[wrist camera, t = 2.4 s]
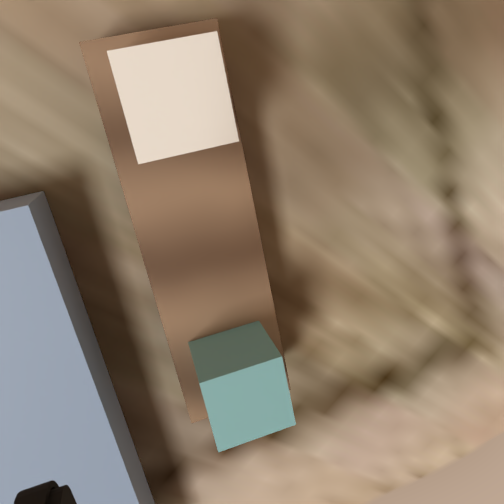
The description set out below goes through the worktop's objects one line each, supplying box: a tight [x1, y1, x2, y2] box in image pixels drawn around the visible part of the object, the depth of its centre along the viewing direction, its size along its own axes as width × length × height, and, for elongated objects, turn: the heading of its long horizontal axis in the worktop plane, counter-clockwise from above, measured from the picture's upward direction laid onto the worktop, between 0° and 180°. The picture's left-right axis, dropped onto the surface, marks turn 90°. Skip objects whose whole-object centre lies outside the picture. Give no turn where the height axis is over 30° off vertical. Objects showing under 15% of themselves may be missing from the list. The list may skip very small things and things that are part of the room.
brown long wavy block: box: [79, 18, 291, 423], centre depth 24 cm, size 20×6×4 cm, turn 11°
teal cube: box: [188, 321, 296, 452], centre depth 23 cm, size 4×4×4 cm
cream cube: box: [107, 31, 239, 164], centre depth 19 cm, size 4×4×4 cm
